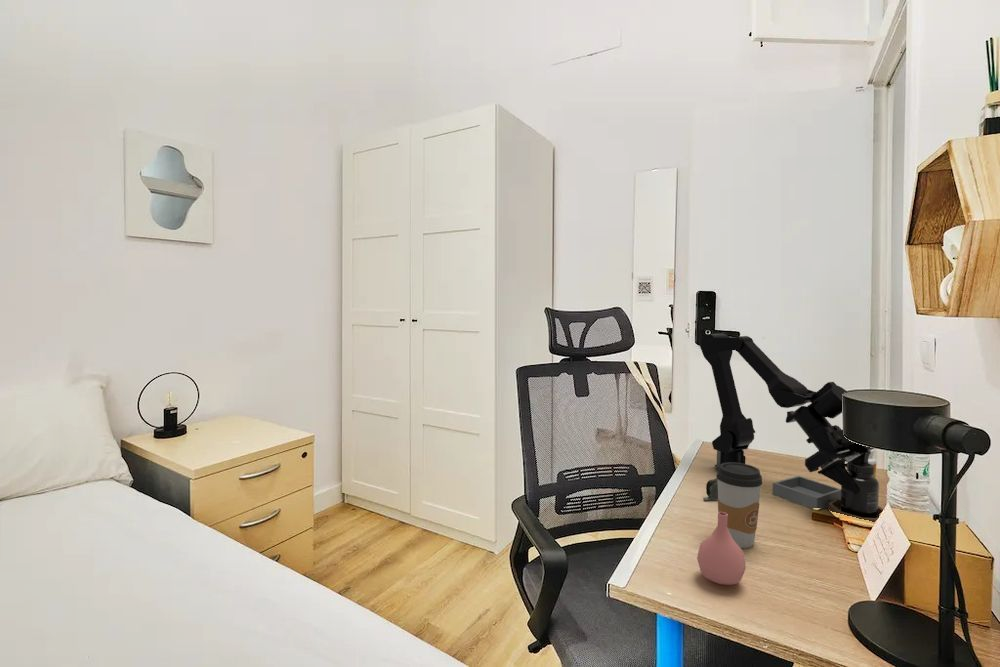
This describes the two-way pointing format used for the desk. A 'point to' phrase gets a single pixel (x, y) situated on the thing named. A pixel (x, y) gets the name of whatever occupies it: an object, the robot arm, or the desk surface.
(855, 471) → the supplement bottle
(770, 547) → the desk surface
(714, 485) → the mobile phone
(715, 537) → the pink vase
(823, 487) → the tray
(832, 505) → the brown shallow dish
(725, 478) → the coffee cup
